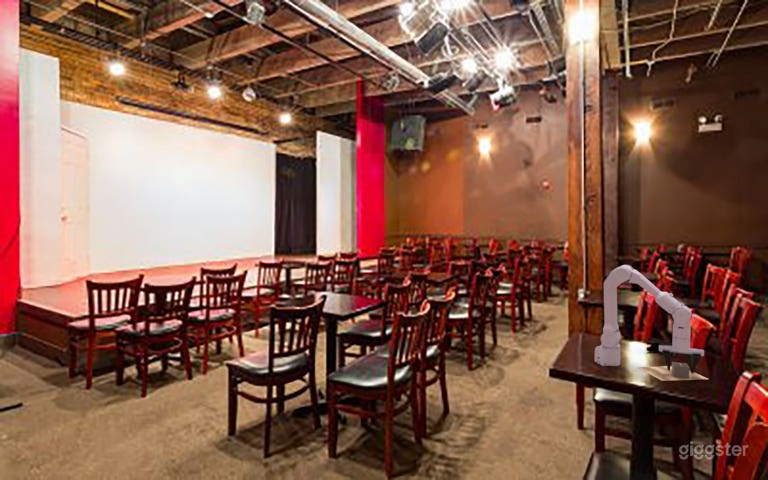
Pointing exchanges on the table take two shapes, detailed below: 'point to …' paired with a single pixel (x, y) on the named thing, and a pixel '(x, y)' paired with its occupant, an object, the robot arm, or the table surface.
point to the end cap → (655, 347)
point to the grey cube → (680, 370)
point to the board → (668, 373)
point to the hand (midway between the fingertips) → (680, 371)
